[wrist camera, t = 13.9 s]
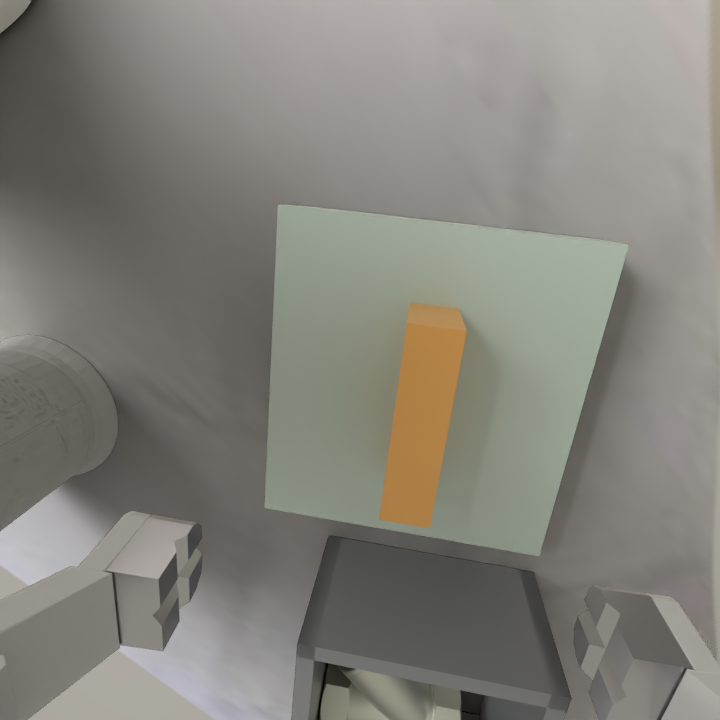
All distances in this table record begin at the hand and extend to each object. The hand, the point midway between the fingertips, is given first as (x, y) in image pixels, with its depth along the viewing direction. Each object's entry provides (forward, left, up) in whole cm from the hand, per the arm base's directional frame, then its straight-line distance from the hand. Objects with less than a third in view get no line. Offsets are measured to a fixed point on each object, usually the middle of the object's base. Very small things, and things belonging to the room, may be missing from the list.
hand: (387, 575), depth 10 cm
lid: (0, +1, -14) cm, 14 cm away
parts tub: (+17, +3, -14) cm, 22 cm away
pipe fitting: (+20, +2, -14) cm, 24 cm away
